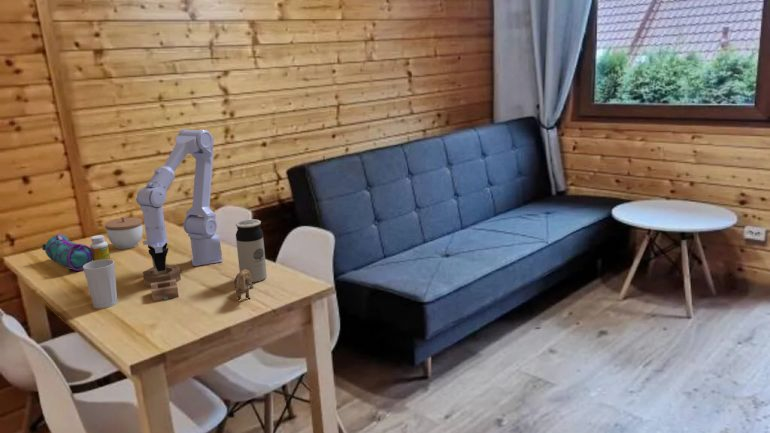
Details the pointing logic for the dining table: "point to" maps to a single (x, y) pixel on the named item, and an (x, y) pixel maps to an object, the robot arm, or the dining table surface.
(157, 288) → the threaded bead
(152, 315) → the dining table surface
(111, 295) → the cup
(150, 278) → the brown faceted ring
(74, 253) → the pencil case
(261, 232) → the travel mug
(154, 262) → the brown and teal block
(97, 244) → the supplement bottle
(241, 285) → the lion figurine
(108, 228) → the lidded bowl
